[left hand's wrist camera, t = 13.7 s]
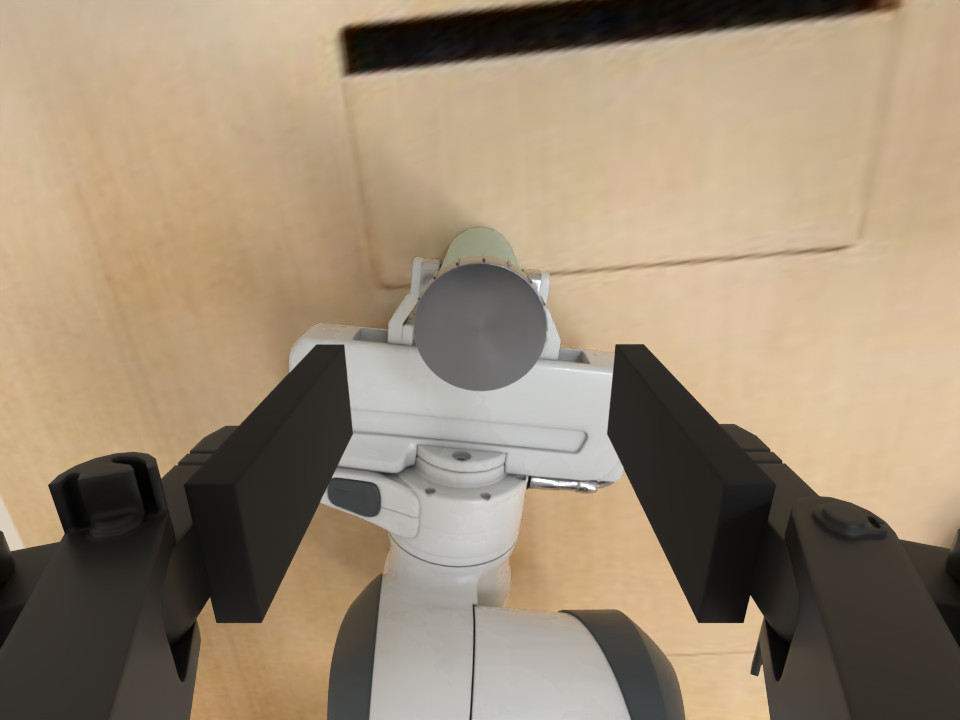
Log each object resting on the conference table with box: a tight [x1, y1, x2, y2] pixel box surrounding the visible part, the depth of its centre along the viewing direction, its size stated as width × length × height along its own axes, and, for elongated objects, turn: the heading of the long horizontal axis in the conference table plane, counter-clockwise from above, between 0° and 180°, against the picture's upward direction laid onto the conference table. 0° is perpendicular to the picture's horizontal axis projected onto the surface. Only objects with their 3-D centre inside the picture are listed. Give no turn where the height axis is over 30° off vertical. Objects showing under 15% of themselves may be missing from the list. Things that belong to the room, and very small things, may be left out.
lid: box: [413, 254, 548, 391], centre depth 20 cm, size 5×5×2 cm
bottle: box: [440, 227, 521, 270], centre depth 27 cm, size 5×5×15 cm
